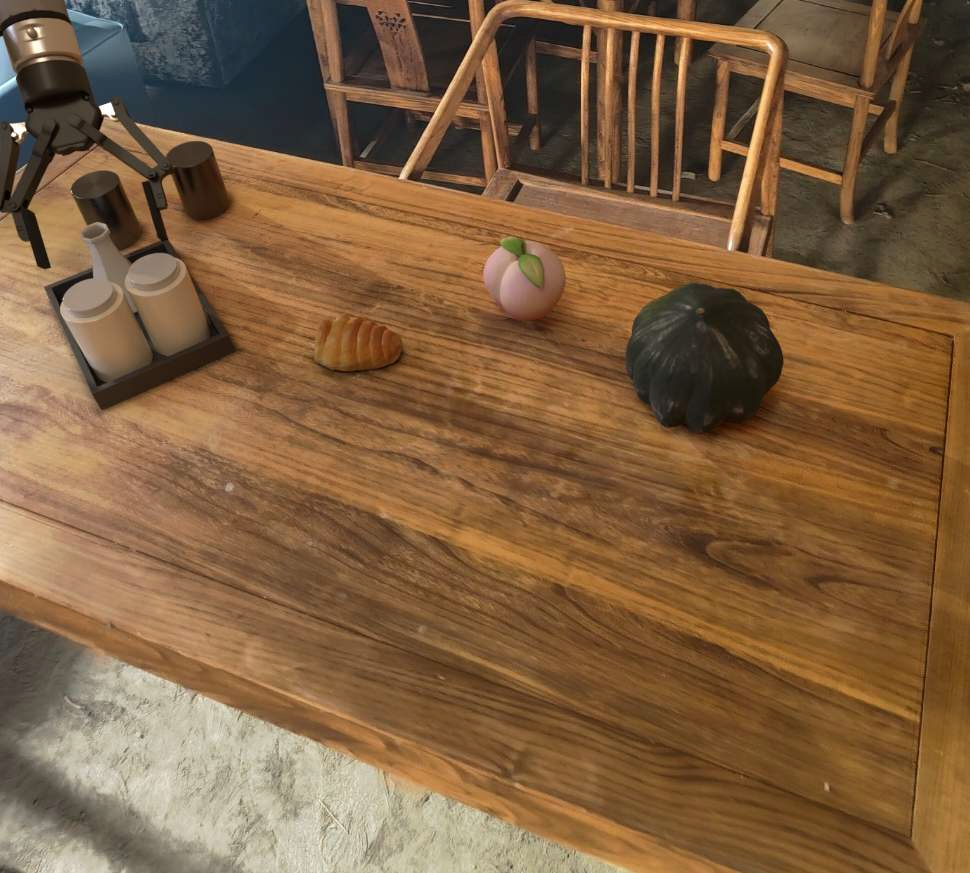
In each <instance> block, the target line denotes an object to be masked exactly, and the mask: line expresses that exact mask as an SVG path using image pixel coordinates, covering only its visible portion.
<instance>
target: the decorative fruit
mask: <svg viewBox="0 0 970 873" xmlns="http://www.w3.org/2000/svg"><path fill="white" fill-rule="evenodd" d="M499 243H500V247H498V248H497V249H496V250H494V252H492V253H491V255H490V256H489V257H488V259H487V260H486V263H485V264H484V267H483V272H482V278H483V283H484V286H485V288H486V289H487V291H488V293H489V295H490V297H491V298H492V300H493V301H494V303H496V304H497V305H498V306H499V307H500V308H501V309H503V310H504V311H505V312H506V314H508V315H509V316H510V317H512V318H514V319H517V320H520V321H527V322H529V321H536V320H539V319H542V318H544V317H546V316H547V315H549V314H550V313H551V312H552V311H553V310H554V308H556V306H557V304H558V303H559V301H560V300H561V298H562V296H563V293H564V290H565V287H566V281H567V280H566V279H567V277H566V276H567V275H566V270H565V267H564V264H563V262H562V261H561V259H560V257H559V256H558V255H557V254H556V253H555V252H554V251H553V250H551V248H549V247H548V246H546V245H545V244H542V243H540V242H537V241H533V240H524V239H523V238H519V237H517V236H507V237H503V238H501V239H500V241H499Z"/></svg>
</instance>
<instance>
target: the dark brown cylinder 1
mask: <svg viewBox="0 0 970 873" xmlns="http://www.w3.org/2000/svg"><path fill="white" fill-rule="evenodd" d="M70 194H71V196H72V198H73V200H74V202H75V204H76V206H77V208H78V210H79V212H80V214H81V216H82V218H83V220H84V223H85V224H86V226H88V225H90V224H93V223H96V222H99V223H104V224H106V225H107V227H108V229H109V231H110V234H109V237H110V239H111V241H112V242H113V244H114V245H115V246H116V248H117V249H118V250H119V251H120V250H124V249H127V248H129V247H131V246H132V245H134V244H136V242H138V240H140V238H141V236H142V235H143V229H142V226H141V224H140V222H139V219H138V217H137V215H136V213H135V210H134V208H133V206H132V204H131V202H130V199H129V197H128V195H127V192H126V190H125V187H124V185H123V183H122V180H121V178H120V176H119V175H118V173H116V172H114V171H112V170H106V169H105V170H96V171H91V172H88V173H85V174H83V175H82V176H80V177H78V178H77V179H76V180H74V182H73V183H72V184H71V186H70Z"/></svg>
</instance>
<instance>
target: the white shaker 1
mask: <svg viewBox="0 0 970 873" xmlns="http://www.w3.org/2000/svg"><path fill="white" fill-rule="evenodd" d="M60 312H61V315H62V317H63V319H64V320H65V322H66V324H67V326H68V327H69V329H70V331H71V333H72V335H73V336H74V338H75V340H76V342H77V343H78V345H79V347H80V349H81V350H82V352H83V354H84V356H85V358H86V359H87V361H88V363H89V365H90V366H91V368H92V370H93V372H94V373H95V375H96V377H97V378H98V379H100V380H102V381H104V382H107V383H108V382H110V381H113V380H115V379H117V378H119V377H122V376H124V375H126V374H129V373H131V372H133V371H136V370H138V369H140V368H143V367H145V366H147V365H149V364H151V362H152V359H153V352H152V350H151V348H150V346H149V343H148V341H147V339H146V337H145V335H144V333H143V331H142V329H141V327H140V325H139V323H138V321H137V319H136V317H135V315H134V313H133V310H132V308H131V306H130V304H129V302H128V300H127V298H126V296H125V294H124V292H123V290H122V288H121V287H120V286H119V285H117V284H115V283H113V282H109V281H108V280H106V279H102V278H92V279H87V280H84V281H81V282H79V283H77V284H75V285H73V286H72V287H71V288H70V289H69V290H68V291H67V292H66V293H65V295H64V297H63V302H62V304H61V307H60Z"/></svg>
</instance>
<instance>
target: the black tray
mask: <svg viewBox="0 0 970 873" xmlns="http://www.w3.org/2000/svg"><path fill="white" fill-rule="evenodd" d="M154 253H166V254H169V255H171V256H173V257H174V258H177V259H179V260H181V261H182V262H183V260H182V258H181V257H180V256H179V254H178V252H177V251H176V249H175V247H174V246H173V244H172V243H171V241H170V239H168V240H166V241H161V240H159V241H157V242H156V241H155V242H153V243H151V244H149V245H145V246H144V247H141V248H138V249H136V250H132V251H131V252H128V253H126V254H123V255H124V256H125V257H126V258H127V259H128V260H129V261H130V262H131V263H132V264H133V263H134V262H135V261H137V260H138V259H140V258H142V257H144V256H146V255H149V254H154ZM187 271H188V273H189V275H190V278H191V280H192V283H193V285H194V288H195V290H196V293H197V295H198V298H199V300H200V302H201V305H202V307H203V310H204V312H205V315H206V317H207V320H208V322H209V325H210V327H211V335H210V338H209V339H207V340H205V341H203V342H200V343H198V344H196V345H193V346H191V347H189V348H186V349H184V350H182V351H179V352H177V353H175V354H173V355H170V356H165V355H162V354H160V353H159V352H158V351H157V350H156V349H155V347H154V345H153V343H152V341H151V339H150V337H149V335H148V333H147V331H146V329H145V327H144V325H143V322H142V320H141V318H140V316H139V314H138V312H135V313H134V315H135V317H136V319H137V321H138V323H139V325H140V327H141V329H142V331H143V333H144V335H145V337H146V339H147V341H148V343H149V346H150V348H151V350H152V352H153V359H152V362H151V364H149V365H147V366H145V367H143V368H140V369H138V370H136V371H133V372H131V373H129V374H126V375H124V376H122V377H119V378H117V379H115V380H113V381H110V382H108V383H107V382H104V381H102V380H100V379H98V378H97V377H96V375H95V373H94V372H93V370H92V368H91V366H90V365H89V363H88V361H87V359H86V358H85V356H84V354H83V352H82V350H81V349H80V347H79V345H78V343H77V342H76V340H75V338H74V336H73V335H72V333H71V331H70V329H69V327H68V326H67V324H66V322H65V320H64V319H63V317H62V315H61V312H60V307H61V304H62V302H63V297H64V295H65V293H66V292H67V291H68V290H69V289H70V288H71V287H72V286H73V285H75V284H77V283H79V282H81V281H84V280H87V279H92V278H94V277H93V267H90V268H88V269H85V270H83V271H80V272H78V273H75V274H73V275H70V276H67V277H65V278H63V279H60V280H58V281H55V282H52V283H50V284H47V285H44V286H43V289H44V291H45V294H46V296H47V298H48V301H49V303H50V304H51V307H52V309H53V311H54V313H55V316H56V318H57V320H58V323H59V325H60V327H61V329H62V331H63V333H64V336H65V338H66V340H67V343H68V344H69V347H70V349H71V351H72V353H73V356H74V357H75V360H76V362H77V364H78V366H79V370H80V371H81V374H82V376H83V378H84V381H85V383H86V385H87V386H88V389H89V391H90V393H91V395H92V397H93V399H94V401H95V402H96V404H97V405H98V408H99V409H100V411H104V410H106V409H108V408H111V407H112V406H115V405H117V404H119V403H122V402H124V401H127V400H129V399H131V398H133V397H135V396H138V395H140V394H143V393H145V392H147V391H149V390H152V389H154V388H156V387H158V386H160V385H163V384H165V383H167V382H169V381H172V380H174V379H176V378H179V377H181V376H184V375H186V374H188V373H190V372H193V371H194V370H196V369H197V370H198V369H199V368H201V367H203V366H206V365H208V364H211V363H213V362H215V361H217V360H219V359H222V358H224V357H227V356H228V355H229V356H230V355H231V354H233V353H235V352H236V349H235V347H234V346H235V345H234V344H233V342H232V338H231V336H230V334H229V332H228V331H227V329H226V327H225V326H224V325H223V323H222V321H221V320H220V318H219V316H218V315H217V313H216V312H215V311H214V309H213V307H212V306H211V304H210V302H209V301H208V299H207V298H206V296H205V295H204V293H203V292H202V290H201V288H200V287H199V285H198V283H197V282H196V281H195V279H194V278H193V276H192V274H191V273H190V271H189V270H188V269H187Z"/></svg>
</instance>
